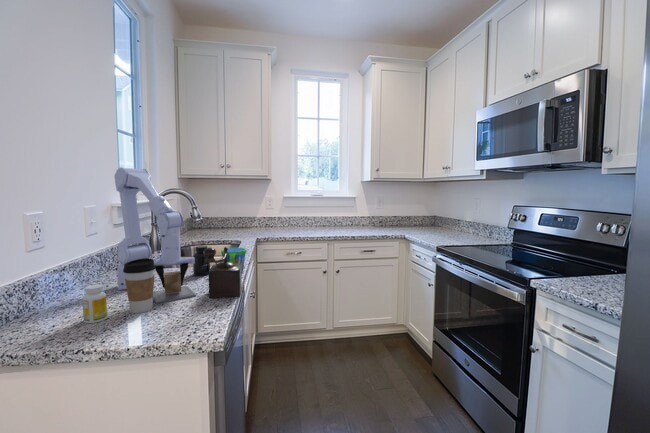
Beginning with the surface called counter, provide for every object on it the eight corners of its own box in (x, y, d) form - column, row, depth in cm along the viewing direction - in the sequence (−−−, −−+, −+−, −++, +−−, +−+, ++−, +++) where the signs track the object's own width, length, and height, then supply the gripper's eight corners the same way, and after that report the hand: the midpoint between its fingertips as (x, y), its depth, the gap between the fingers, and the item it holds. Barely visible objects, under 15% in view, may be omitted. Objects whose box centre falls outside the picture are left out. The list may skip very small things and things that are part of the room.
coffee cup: (163, 306, 99) (161, 259, 98) (139, 316, 91) (137, 265, 90) (143, 303, 102) (140, 257, 101) (118, 312, 94) (115, 263, 93)
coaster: (156, 303, 101) (156, 301, 101) (150, 293, 111) (150, 291, 111) (195, 296, 109) (195, 294, 108) (186, 287, 118) (186, 285, 118)
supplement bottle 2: (206, 276, 133) (205, 248, 132) (190, 276, 133) (189, 248, 132) (212, 272, 140) (212, 245, 139) (197, 271, 140) (196, 245, 139)
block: (164, 293, 106) (164, 276, 106) (164, 289, 111) (164, 272, 110) (181, 291, 109) (180, 274, 108) (180, 287, 113) (179, 271, 113)
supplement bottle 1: (80, 324, 86) (77, 290, 85) (89, 317, 91) (87, 284, 90) (102, 322, 87) (100, 288, 86) (110, 315, 92) (108, 283, 91)
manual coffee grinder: (211, 289, 116) (210, 240, 114) (242, 287, 118) (241, 240, 116) (203, 304, 101) (201, 249, 99) (239, 302, 103) (237, 248, 101)
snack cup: (226, 268, 147) (226, 246, 146) (249, 267, 147) (249, 246, 146) (217, 277, 131) (216, 253, 130) (243, 277, 132) (242, 253, 131)
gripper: (146, 251, 101) (148, 292, 103) (195, 247, 108) (196, 286, 109) (147, 247, 108) (149, 286, 109) (193, 244, 114) (194, 280, 115)
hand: (172, 286), depth 109 cm, fingers closed on block, 5 cm apart
